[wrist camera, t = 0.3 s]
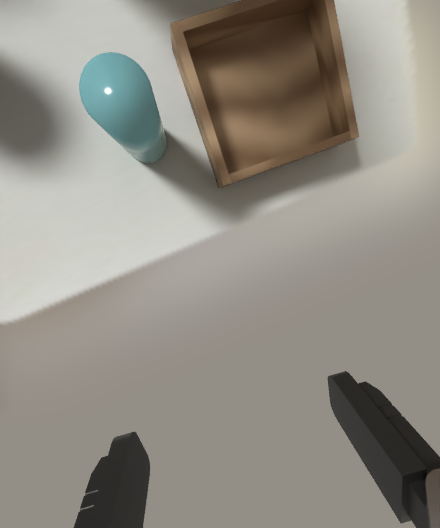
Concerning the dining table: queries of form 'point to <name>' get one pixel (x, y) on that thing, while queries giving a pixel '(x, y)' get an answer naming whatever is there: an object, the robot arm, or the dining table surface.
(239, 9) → the walnut crate
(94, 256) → the dining table surface
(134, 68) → the teal canister
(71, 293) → the dining table surface
